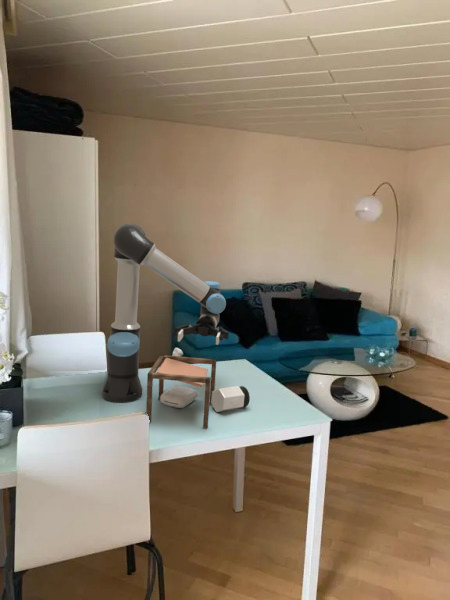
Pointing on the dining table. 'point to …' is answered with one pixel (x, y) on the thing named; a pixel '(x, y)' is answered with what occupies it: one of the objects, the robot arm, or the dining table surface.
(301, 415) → the dining table surface
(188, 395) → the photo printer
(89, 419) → the dining table surface
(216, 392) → the jar
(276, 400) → the dining table surface
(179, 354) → the sitting furry creature
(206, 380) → the trapdoor frame
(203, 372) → the trapdoor
